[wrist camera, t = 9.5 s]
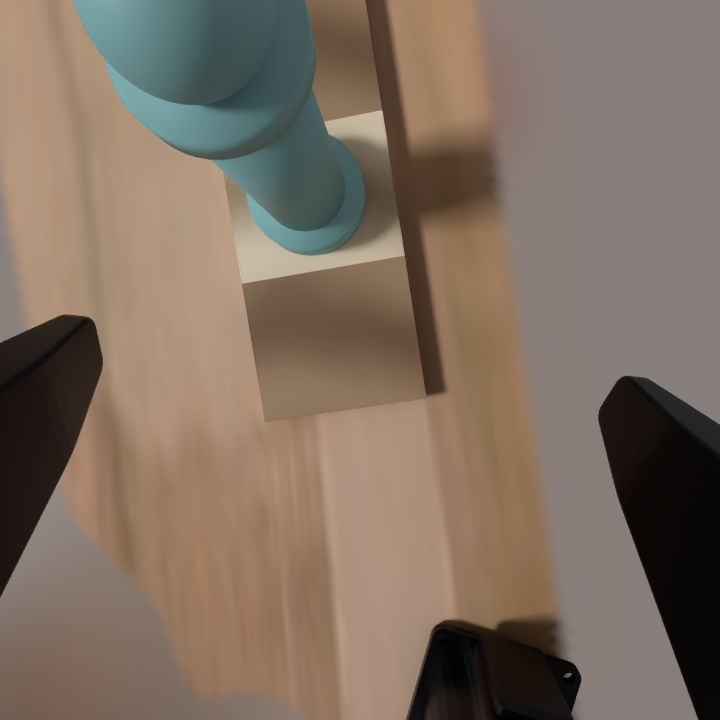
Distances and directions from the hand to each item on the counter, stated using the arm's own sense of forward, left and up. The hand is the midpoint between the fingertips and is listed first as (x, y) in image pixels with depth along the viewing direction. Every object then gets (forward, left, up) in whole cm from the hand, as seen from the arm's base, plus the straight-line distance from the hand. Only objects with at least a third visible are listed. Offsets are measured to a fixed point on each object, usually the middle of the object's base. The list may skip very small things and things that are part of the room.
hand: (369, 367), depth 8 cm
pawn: (+5, +5, -12) cm, 14 cm away
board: (+8, +6, -13) cm, 16 cm away
